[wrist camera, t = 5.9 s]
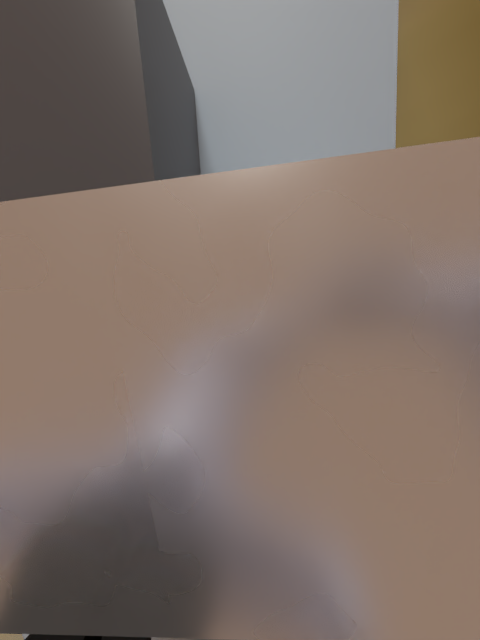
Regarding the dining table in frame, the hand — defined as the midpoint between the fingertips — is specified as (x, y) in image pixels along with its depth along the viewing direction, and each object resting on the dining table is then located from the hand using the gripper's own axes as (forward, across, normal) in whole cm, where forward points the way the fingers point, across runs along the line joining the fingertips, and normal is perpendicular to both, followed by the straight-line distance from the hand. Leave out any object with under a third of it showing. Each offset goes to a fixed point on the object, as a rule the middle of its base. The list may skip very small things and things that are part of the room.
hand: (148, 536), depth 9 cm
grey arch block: (+2, +2, -7) cm, 7 cm away
